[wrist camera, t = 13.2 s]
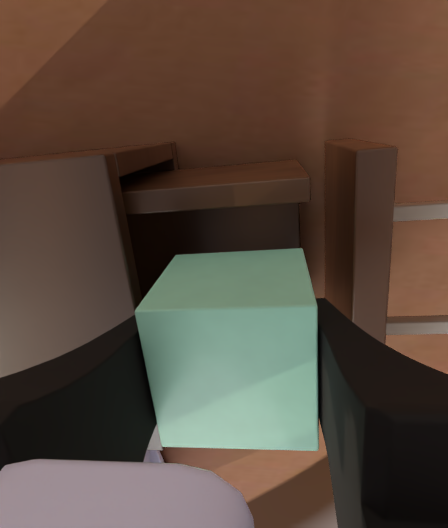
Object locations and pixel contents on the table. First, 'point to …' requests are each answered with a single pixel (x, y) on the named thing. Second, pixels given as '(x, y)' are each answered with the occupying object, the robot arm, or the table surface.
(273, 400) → the note cube
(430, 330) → the drawer
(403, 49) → the table surface
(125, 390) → the robot arm
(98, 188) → the cabinet
